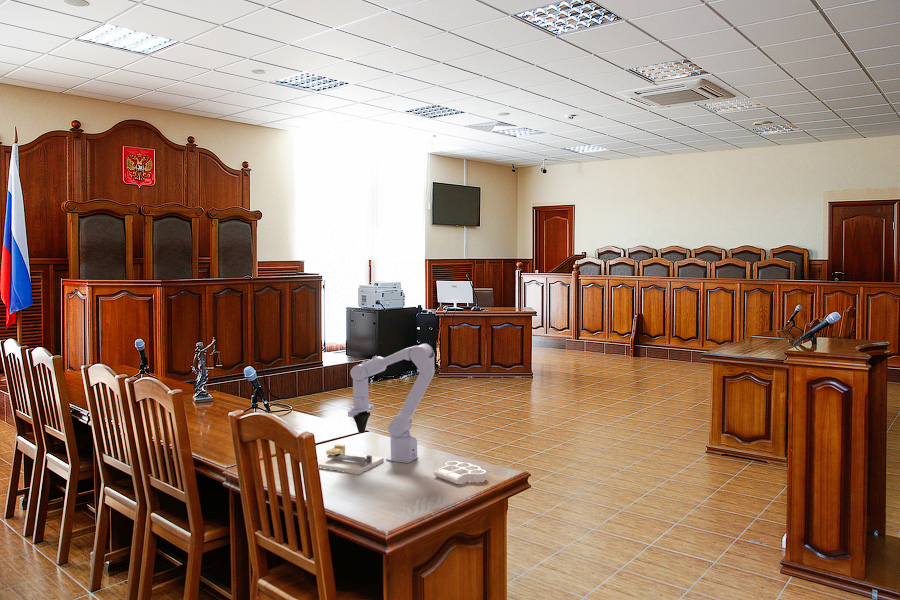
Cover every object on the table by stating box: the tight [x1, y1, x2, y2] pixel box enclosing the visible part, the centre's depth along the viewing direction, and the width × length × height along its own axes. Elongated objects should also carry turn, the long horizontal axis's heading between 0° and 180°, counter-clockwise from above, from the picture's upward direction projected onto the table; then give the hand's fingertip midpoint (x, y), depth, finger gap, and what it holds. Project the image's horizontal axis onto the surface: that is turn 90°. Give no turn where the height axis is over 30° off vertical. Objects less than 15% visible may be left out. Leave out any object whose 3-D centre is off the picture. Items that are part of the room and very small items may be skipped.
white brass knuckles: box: [433, 460, 487, 486], centre depth 223 cm, size 3×18×15 cm
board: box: [317, 452, 385, 475], centre depth 238 cm, size 20×16×4 cm
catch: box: [325, 443, 346, 455], centre depth 240 cm, size 4×6×4 cm, turn 154°
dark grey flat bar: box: [326, 454, 370, 463], centre depth 236 cm, size 16×3×1 cm, turn 64°
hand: (361, 431), depth 247 cm, fingers closed
